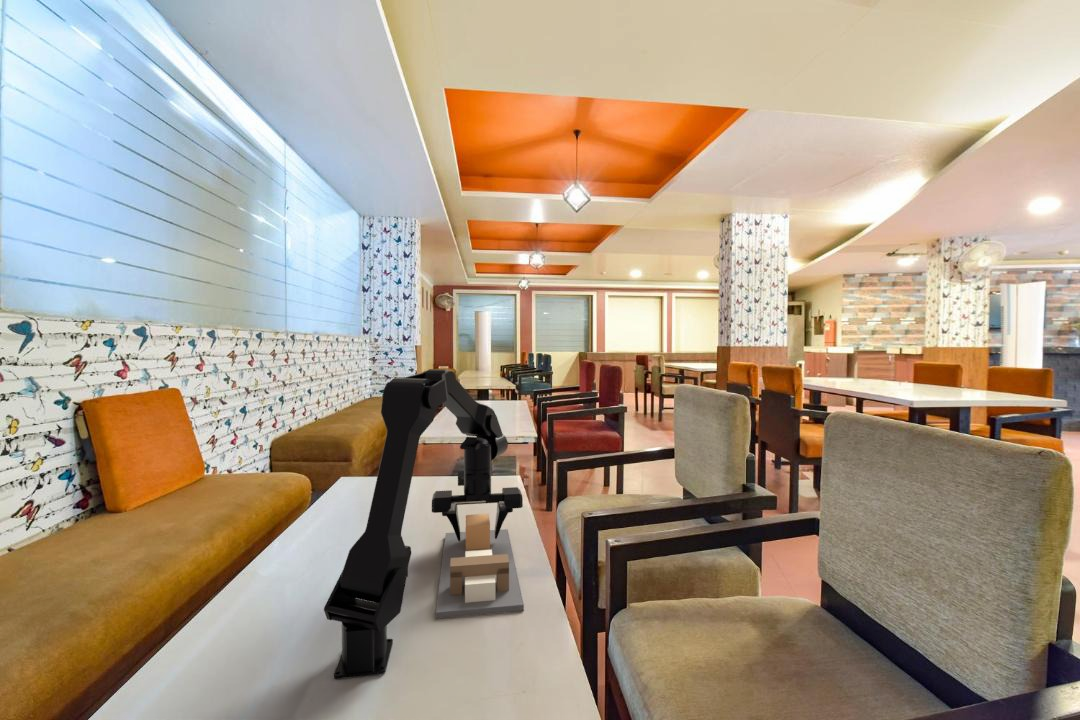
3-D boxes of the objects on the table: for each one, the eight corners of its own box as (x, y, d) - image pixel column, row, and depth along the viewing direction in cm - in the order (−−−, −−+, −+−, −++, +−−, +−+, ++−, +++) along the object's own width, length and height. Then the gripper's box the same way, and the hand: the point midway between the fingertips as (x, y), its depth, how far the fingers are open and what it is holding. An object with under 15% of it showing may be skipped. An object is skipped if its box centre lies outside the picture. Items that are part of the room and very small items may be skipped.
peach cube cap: (490, 548, 92) (490, 524, 92) (465, 550, 91) (465, 526, 91) (488, 536, 98) (488, 513, 98) (465, 537, 97) (465, 515, 97)
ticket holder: (523, 610, 72) (523, 574, 72) (436, 618, 70) (435, 581, 70) (507, 533, 102) (507, 507, 102) (445, 537, 100) (445, 511, 100)
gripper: (517, 455, 103) (517, 521, 104) (435, 458, 100) (435, 526, 101) (523, 468, 92) (522, 542, 93) (431, 472, 89) (431, 548, 90)
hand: (477, 539), depth 94 cm, fingers open, 7 cm apart
